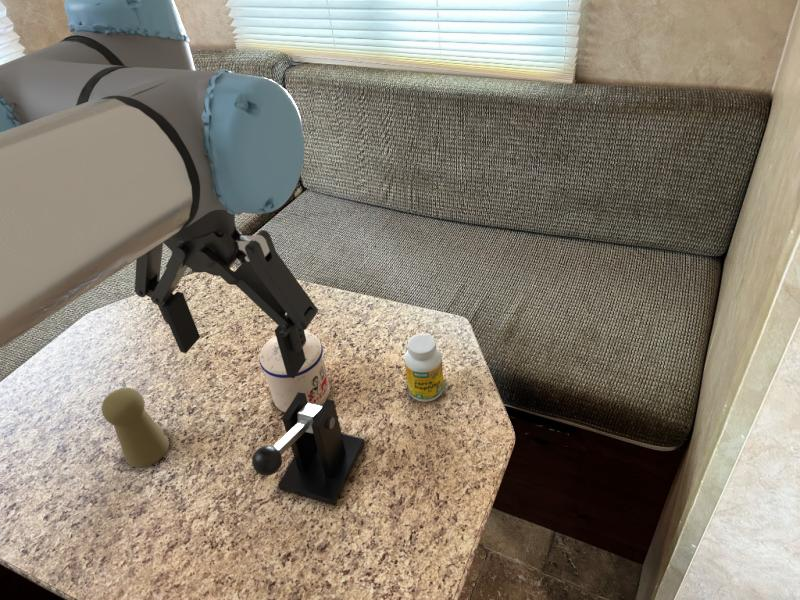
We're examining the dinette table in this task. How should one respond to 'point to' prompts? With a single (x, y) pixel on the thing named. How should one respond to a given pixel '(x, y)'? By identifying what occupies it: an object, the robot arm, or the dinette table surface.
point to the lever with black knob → (284, 442)
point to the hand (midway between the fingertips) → (242, 356)
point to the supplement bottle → (424, 368)
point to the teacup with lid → (306, 380)
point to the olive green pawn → (134, 427)
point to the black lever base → (319, 454)
